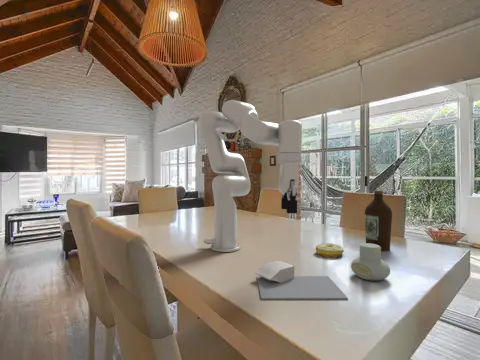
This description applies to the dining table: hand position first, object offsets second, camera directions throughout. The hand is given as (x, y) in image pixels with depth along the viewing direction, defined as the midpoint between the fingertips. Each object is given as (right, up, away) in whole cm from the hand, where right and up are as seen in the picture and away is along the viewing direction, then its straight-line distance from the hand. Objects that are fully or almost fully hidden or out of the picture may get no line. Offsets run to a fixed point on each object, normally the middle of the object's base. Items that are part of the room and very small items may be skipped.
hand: (288, 211), depth 90 cm
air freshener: (+24, -20, -5) cm, 32 cm away
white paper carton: (-1, -18, -5) cm, 18 cm away
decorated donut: (+20, -20, +19) cm, 34 cm away
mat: (0, -20, -13) cm, 24 cm away
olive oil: (+44, -20, +29) cm, 56 cm away
